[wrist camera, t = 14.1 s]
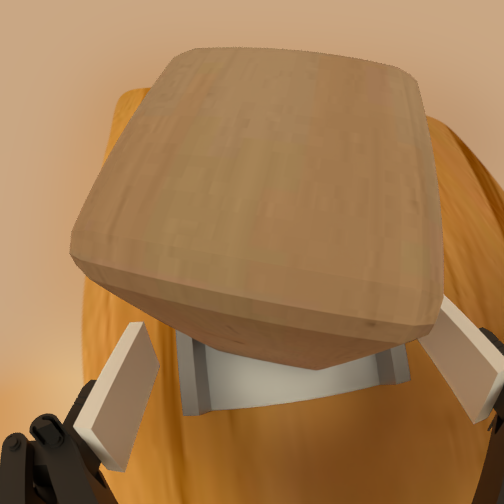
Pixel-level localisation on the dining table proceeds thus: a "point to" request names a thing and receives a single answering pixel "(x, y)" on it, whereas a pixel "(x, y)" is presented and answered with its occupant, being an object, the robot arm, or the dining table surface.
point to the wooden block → (273, 207)
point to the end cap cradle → (273, 378)
